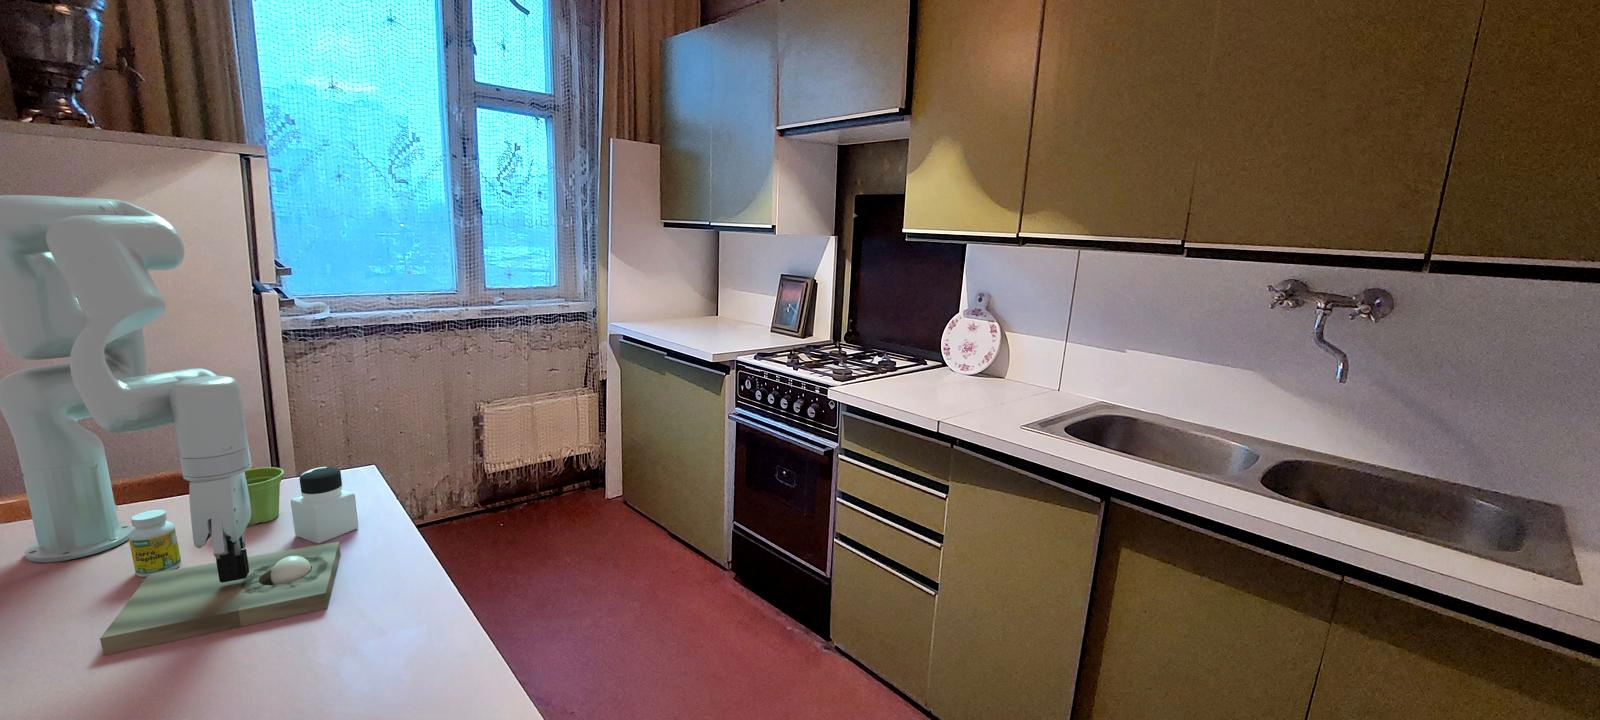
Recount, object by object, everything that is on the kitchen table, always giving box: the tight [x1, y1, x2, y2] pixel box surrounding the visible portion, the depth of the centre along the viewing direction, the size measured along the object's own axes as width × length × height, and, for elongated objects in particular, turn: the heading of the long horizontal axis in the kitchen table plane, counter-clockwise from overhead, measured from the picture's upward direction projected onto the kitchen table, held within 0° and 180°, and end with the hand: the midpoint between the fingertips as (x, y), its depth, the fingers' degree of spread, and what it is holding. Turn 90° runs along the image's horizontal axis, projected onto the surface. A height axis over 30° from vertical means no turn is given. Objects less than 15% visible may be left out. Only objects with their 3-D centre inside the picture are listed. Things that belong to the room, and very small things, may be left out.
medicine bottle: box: [290, 466, 359, 545], centre depth 120 cm, size 7×7×12 cm
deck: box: [99, 541, 342, 656], centre depth 99 cm, size 18×24×2 cm
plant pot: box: [245, 466, 285, 526], centre depth 124 cm, size 9×9×9 cm
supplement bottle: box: [128, 509, 182, 578], centre depth 106 cm, size 5×5×10 cm
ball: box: [271, 556, 311, 585], centre depth 102 cm, size 5×5×5 cm
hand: (234, 577), depth 99 cm, fingers closed
